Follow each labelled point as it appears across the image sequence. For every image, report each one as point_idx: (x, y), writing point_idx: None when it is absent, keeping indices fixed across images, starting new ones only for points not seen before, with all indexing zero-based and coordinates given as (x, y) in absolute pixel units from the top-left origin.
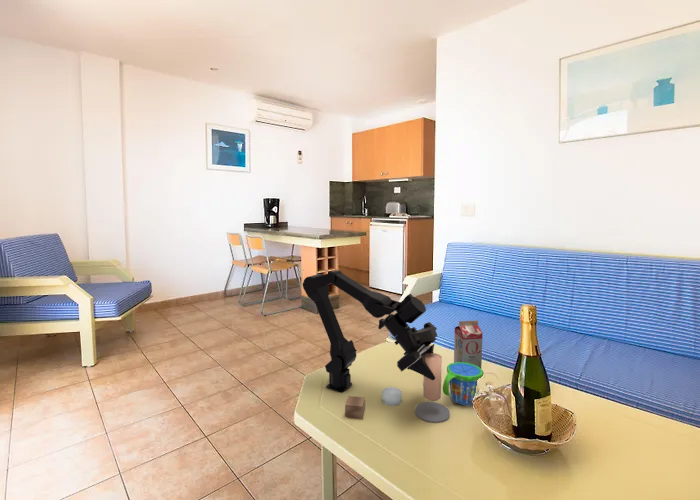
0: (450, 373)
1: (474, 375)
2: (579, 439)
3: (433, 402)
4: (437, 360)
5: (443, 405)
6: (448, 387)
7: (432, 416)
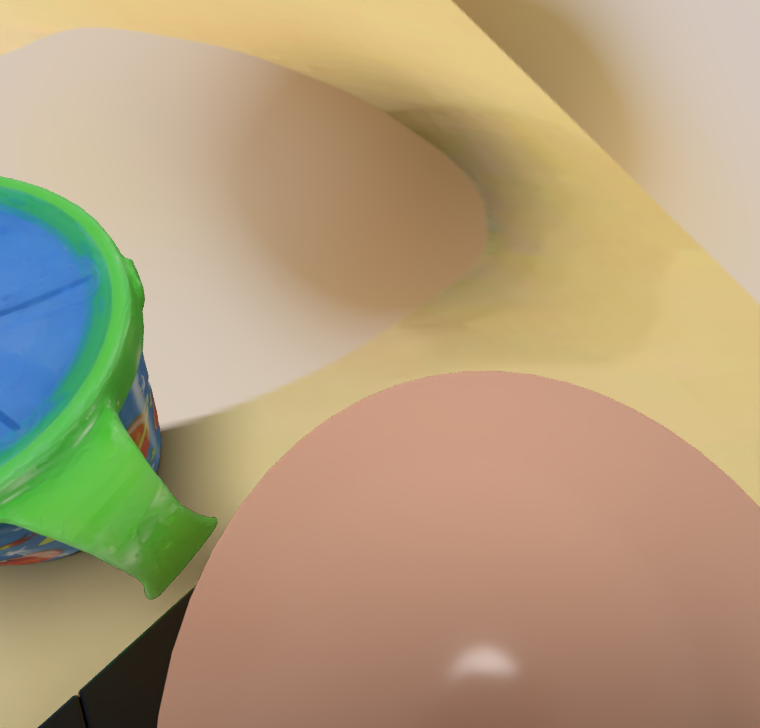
0: (41, 478)
1: (62, 230)
2: (280, 60)
3: None
4: (685, 456)
5: None
6: (195, 513)
7: None
